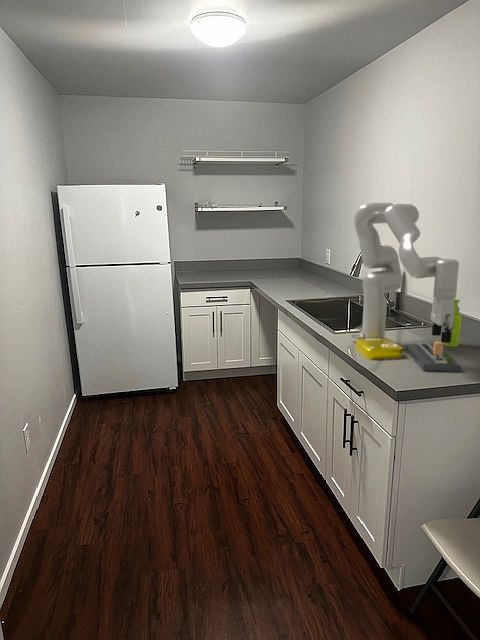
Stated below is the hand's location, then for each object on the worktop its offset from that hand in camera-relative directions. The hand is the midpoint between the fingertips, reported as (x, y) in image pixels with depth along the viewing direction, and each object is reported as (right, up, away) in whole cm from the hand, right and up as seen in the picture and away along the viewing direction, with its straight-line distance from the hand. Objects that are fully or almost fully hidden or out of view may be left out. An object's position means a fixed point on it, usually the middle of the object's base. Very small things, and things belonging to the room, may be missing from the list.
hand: (440, 338), depth 168 cm
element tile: (-18, -7, +19) cm, 27 cm away
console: (0, -9, +10) cm, 13 cm away
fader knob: (0, -8, +3) cm, 8 cm away
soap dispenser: (+17, -4, +29) cm, 34 cm away
